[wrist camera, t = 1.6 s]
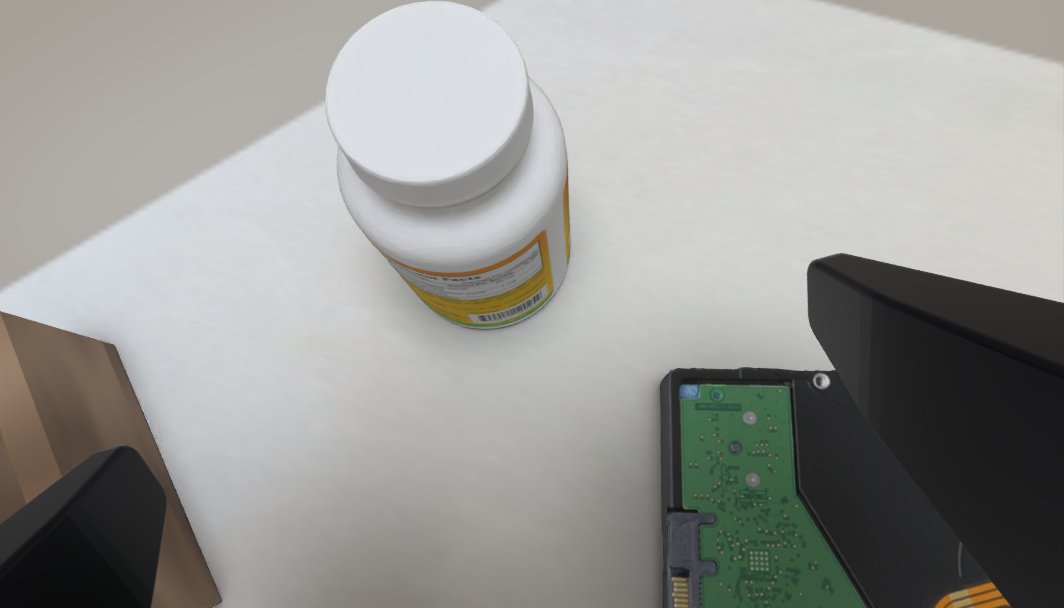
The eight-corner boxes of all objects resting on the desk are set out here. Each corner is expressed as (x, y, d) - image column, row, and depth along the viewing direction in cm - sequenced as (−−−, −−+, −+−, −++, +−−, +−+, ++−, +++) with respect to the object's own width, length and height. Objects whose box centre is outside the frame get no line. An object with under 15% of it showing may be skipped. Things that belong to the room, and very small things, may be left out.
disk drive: (1146, 384, 21) (651, 379, 22) (1233, 369, 18) (663, 364, 19) (1227, 774, 18) (661, 752, 19) (1343, 826, 15) (677, 797, 16)
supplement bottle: (457, 152, 23) (377, -70, 14) (599, 217, 22) (613, 26, 13) (377, 287, 22) (232, 146, 13) (522, 361, 21) (478, 267, 12)
